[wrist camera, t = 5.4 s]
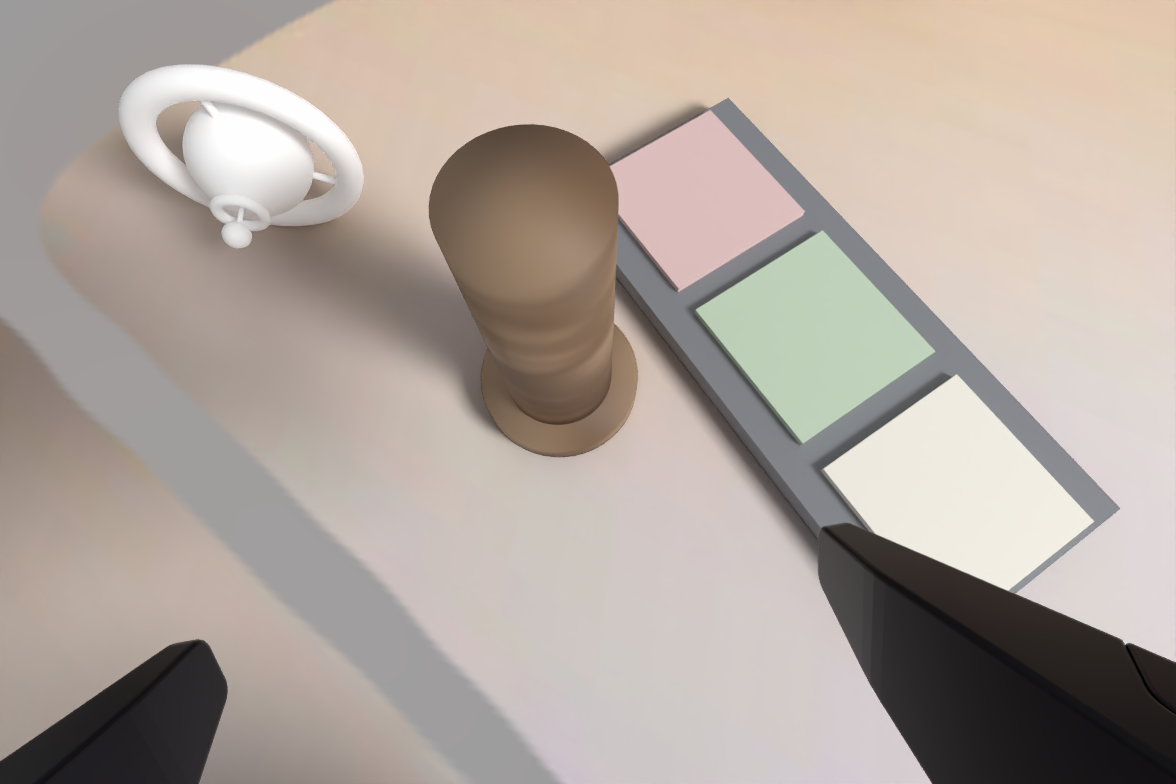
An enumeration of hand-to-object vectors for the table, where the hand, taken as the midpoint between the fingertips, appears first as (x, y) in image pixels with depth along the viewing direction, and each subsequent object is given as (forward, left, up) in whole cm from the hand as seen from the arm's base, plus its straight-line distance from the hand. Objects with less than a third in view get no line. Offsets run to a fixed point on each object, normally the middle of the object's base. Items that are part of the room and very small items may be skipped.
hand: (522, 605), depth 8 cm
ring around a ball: (-2, +19, -13) cm, 23 cm away
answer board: (+13, +3, -13) cm, 18 cm away
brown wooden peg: (+4, +7, -13) cm, 15 cm away
